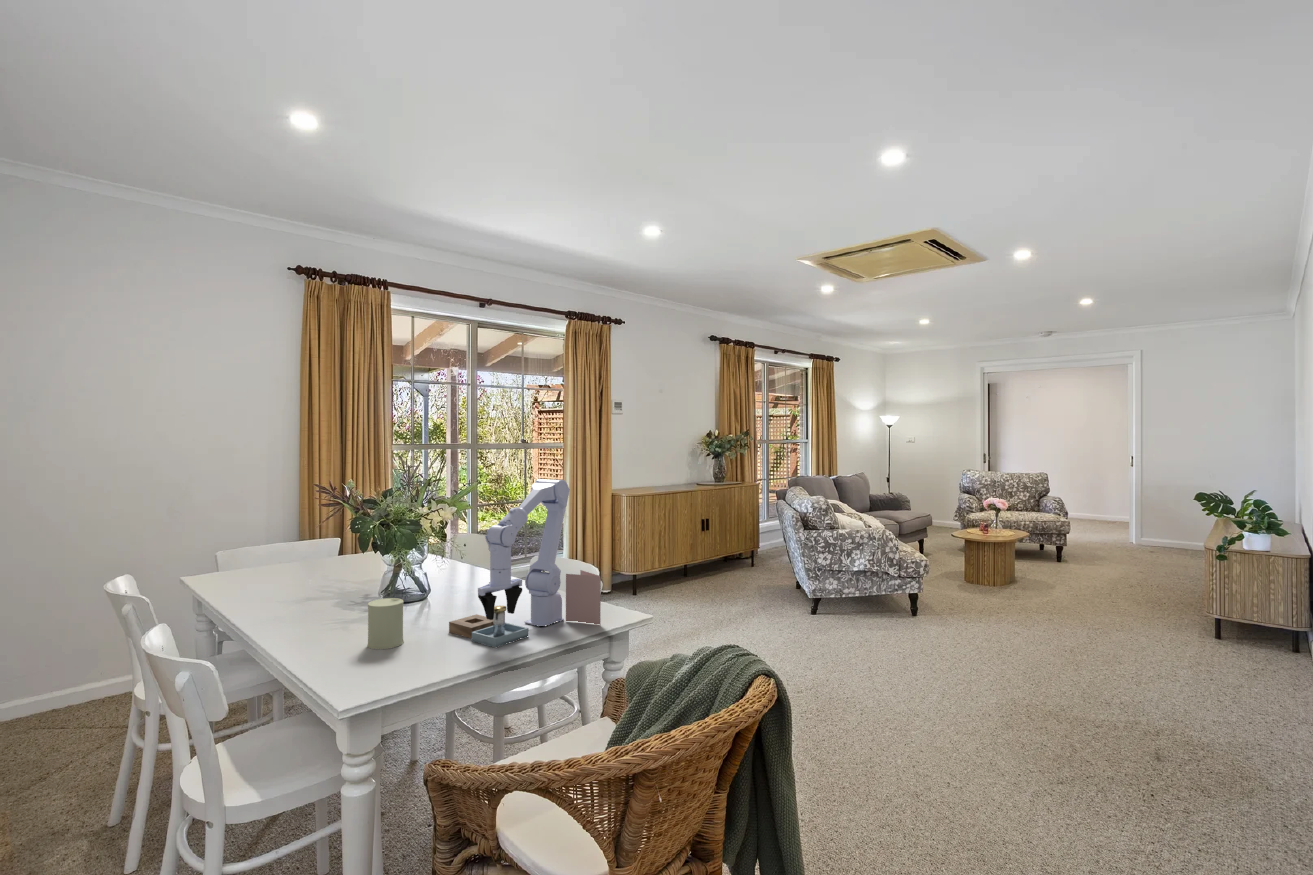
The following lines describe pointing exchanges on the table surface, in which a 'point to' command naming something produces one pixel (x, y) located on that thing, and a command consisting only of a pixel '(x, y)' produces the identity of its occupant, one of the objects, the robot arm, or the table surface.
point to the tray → (510, 635)
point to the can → (385, 623)
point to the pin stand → (469, 625)
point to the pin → (499, 621)
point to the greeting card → (583, 597)
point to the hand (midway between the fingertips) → (500, 616)
